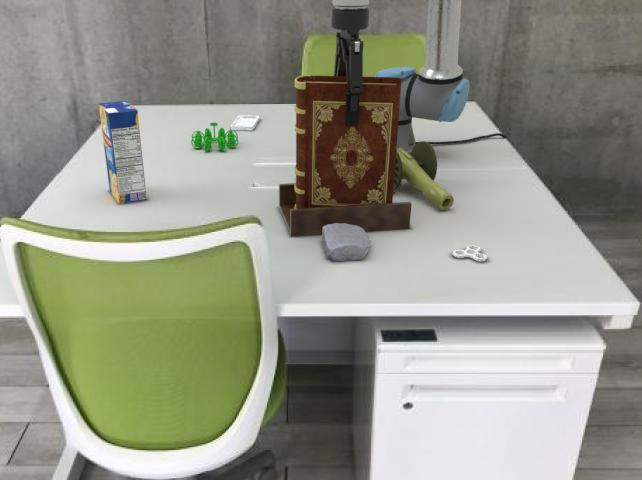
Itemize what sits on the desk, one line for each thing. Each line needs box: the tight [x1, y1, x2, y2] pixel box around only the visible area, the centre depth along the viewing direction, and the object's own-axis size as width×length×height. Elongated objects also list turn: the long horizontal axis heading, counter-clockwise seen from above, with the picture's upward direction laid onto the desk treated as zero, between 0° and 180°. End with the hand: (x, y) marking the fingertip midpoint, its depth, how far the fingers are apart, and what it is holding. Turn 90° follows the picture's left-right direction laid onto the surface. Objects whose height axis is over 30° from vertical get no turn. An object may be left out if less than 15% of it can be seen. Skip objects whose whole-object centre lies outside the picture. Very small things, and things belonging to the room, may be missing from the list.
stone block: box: [321, 223, 371, 262], centre depth 152 cm, size 12×5×10 cm
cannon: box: [393, 140, 455, 211], centre depth 179 cm, size 25×12×11 cm, turn 23°
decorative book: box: [294, 74, 402, 209], centre depth 161 cm, size 22×8×30 cm, turn 79°
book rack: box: [278, 182, 413, 237], centre depth 167 cm, size 27×18×6 cm, turn 98°
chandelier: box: [190, 122, 239, 153], centre depth 219 cm, size 15×15×7 cm
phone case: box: [230, 114, 261, 131], centre depth 242 cm, size 7×1×15 cm
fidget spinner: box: [451, 244, 488, 262], centre depth 150 cm, size 7×6×1 cm
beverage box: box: [98, 100, 148, 205], centre depth 178 cm, size 7×11×22 cm, turn 24°
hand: (346, 120), depth 157 cm, fingers closed on decorative book, 9 cm apart
